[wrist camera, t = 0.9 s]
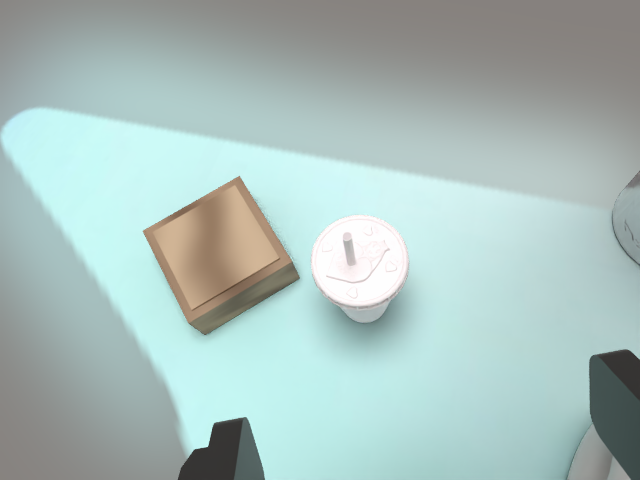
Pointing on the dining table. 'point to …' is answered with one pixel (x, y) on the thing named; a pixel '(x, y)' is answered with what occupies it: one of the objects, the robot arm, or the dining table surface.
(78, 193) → the dining table surface
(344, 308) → the smoothie
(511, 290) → the dining table surface
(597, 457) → the donut
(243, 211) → the base
